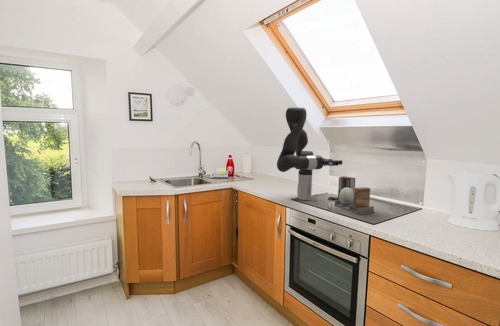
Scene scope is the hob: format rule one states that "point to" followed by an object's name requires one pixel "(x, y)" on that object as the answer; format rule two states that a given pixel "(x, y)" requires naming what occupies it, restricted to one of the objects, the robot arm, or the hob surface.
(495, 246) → the hob surface
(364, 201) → the walnut board
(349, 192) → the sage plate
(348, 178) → the coffee box
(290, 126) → the robot arm
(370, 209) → the dish rack
